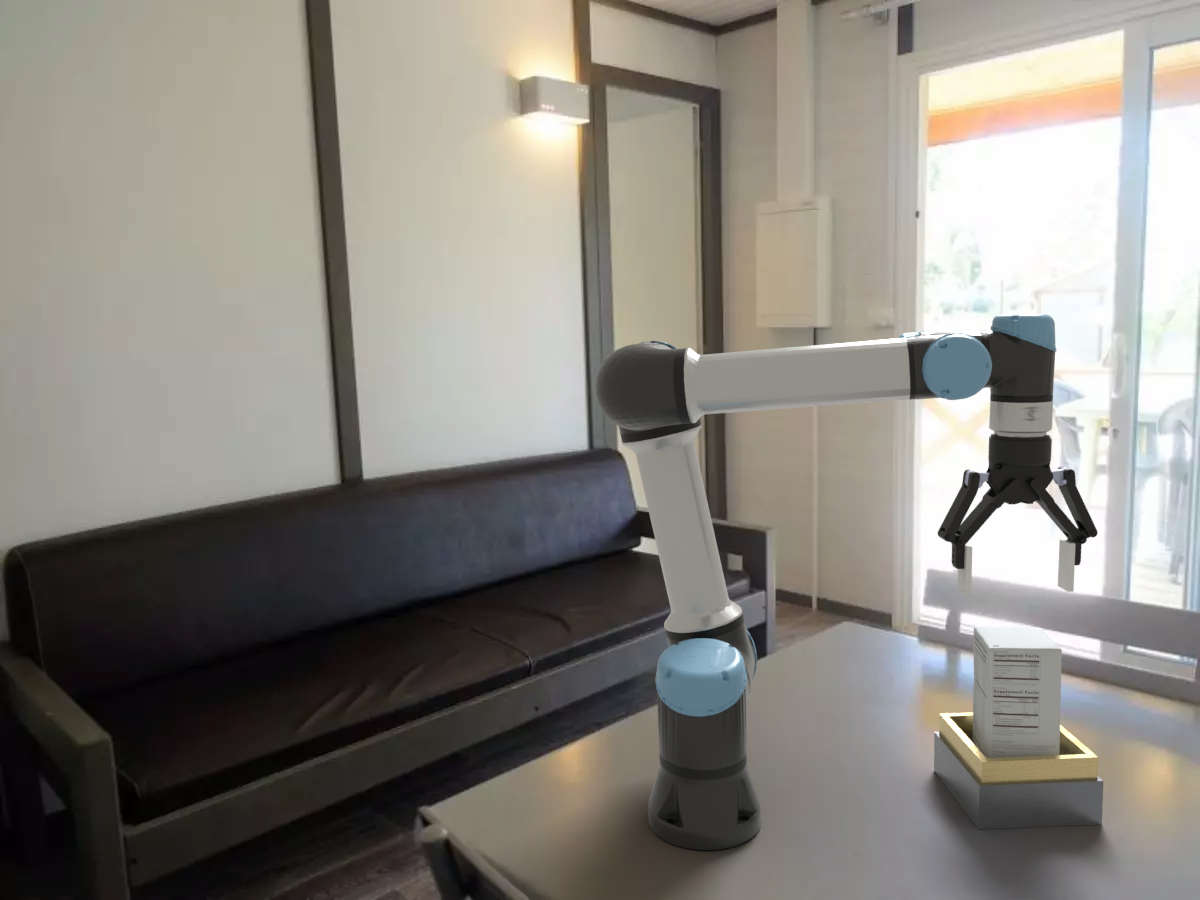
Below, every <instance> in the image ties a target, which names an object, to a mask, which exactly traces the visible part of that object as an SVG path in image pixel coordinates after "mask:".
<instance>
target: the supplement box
mask: <svg viewBox="0 0 1200 900" xmlns="http://www.w3.org/2000/svg"><path fill="white" fill-rule="evenodd" d="M1062 654H1063V650H1062V648H1061V647H1060V646H1059V645H1058V644H1057V643H1056V642H1055V641H1054V640H1053V639H1052V638H1051V637H1050V636H1049V635H1048V633H1046V631H1045V629H1044V630H1043V628H1042V627H1038V626H1037V627H1036V626H1035V627H1034V626H974V627H973V686H972V687H973V689H972V691H973V692H972V695H973V696H972V712H973V741H974V743H975V745H976V747H977V748H978V749H979V750H980V751H981V752H982V753H983V755H984V756H985V757H986V758H1001V757H1025V756H1050V755H1059V750H1060V725H1061V703H1062V702H1061V700H1062V699H1061V698H1062V697H1061V693H1062V661H1063V660H1062V658H1063V657H1062V656H1063V655H1062Z"/></svg>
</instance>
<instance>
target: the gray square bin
mask: <svg viewBox="0 0 1200 900" xmlns="http://www.w3.org/2000/svg"><path fill="white" fill-rule="evenodd" d="M938 715H939V717H938V720H939V723H938V726H939V727H938V729H939V730H938V731H934V733H933V734H934V737H933V739H934V740H933V741H934V746H933V747H934V749H933V752H934V754H933V756H934V757H933V771H934V773H935V774H936V775H937V777H938V778H939V779H940V781H941V782H942V783H943V784H944V786H945V787H946V789H947V790H948V791H949V793H950V794H951V796H953V797H954V799H955V800H956V802H957V803H958V804H959V806H960V807H961V808H962V809H963V811H964V812H965V814H966V815H967V816H968V818H969V819H970V820H971V822H972V823H973V824H974V825H975V827H976V828H977V829H978V830H996V829H997V830H999V829H1001V830H1003V829H1021V828H1022V829H1024V828H1025V829H1026V828H1027V829H1028V828H1048V827H1052V828H1053V827H1069V826H1071V827H1072V826H1073V827H1075V826H1093V825H1095V826H1096V825H1097V826H1098V825H1103V804H1104V803H1103V801H1104V780H1103V779H1102V778H1101V777H1100V776H1098V775H1099V774H1098V773H1099V769H1098V768H1099V757H1098V755H1096V754H1095V753H1094V752H1093V751H1091V750H1090V749H1089V747H1087V746H1086V745H1085V744H1084V743H1082V742H1081V741H1080V740H1079V739H1078V738H1077V737H1075V736H1074V735H1073V734H1072V733H1071V732H1070V731H1069V730H1067V729H1066V728H1065V727H1064V726H1062V724H1060V750H1059V755H1050V756H1025V757H1001V758H986V757H985V756H984V755H983V753H982V752H981V751H980V750H979V749H978V748H977V747H976V745H975V743H974V741H973V711H972V712H971V711H970V712H968V711H967V712H945V713H939V714H938Z"/></svg>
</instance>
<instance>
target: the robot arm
mask: <svg viewBox="0 0 1200 900" xmlns="http://www.w3.org/2000/svg"><path fill="white" fill-rule="evenodd" d="M991 323H992V324H991V326H990V329H985V330H977V331H976V330H975V331H974V330H972V331H969V330H968V331H966V330H963V331H960V330H958V331H957V330H956V331H953V330H948V331H947V330H945V331H944V330H943V331H942V330H941V331H925V330H921V331H917V332H904V333H901V334H900V335H899V336H898V337H897V338H888V339H887V338H885V339H874V340H873V339H872V340H864V341H863V340H862V341H851V342H840V343H839V342H838V343H828V344H827V343H826V344H815V345H803V346H791V347H779V348H767V349H756V350H755V349H754V350H743V351H732V352H720V353H709V354H698V353H697V352H696V351H695V350H694V349H692V348H691V347H684V348H678V347H675V346H674V345H672V344H670V343H668V342H664V341H659V340H650V341H641V342H639V343H635V344H634V343H632V344H629V345H625V346H623V347H620V348H618V349H616V350H614V351H613V352H611V354H609V355H608V356H607V357H606V358H605V359H604V361H603V362H602V363H601V365H600V367H599V369H598V372H597V374H596V378H595V382H594V383H595V385H594V389H595V396H596V401H597V404H598V406H599V409H600V410H601V412H602V413H603V414H604V416H605V417H606V418H607V419H608V420H609V421H610V422H612V423H613V424H614V425H616V426H618V430H619V434H620V438H621V442H622V445H623V446H624V447H626V448H628V449H629V450H631V451H632V452H633V453H634V454H635V456H636V461H637V465H638V470H639V475H640V479H641V483H642V484H641V485H642V487H643V492H644V496H645V501H646V505H647V509H648V514H649V519H650V522H651V527H652V531H653V535H654V536H653V537H654V540H655V544H656V550H657V555H658V557H659V562H660V566H661V571H662V576H663V580H664V584H665V589H666V593H667V597H668V602H669V607H670V613H669V615H668V617H667V618H666V619H665V621H664V623H663V626H664V631H665V635H666V640H667V643H668V644H667V645H668V647H666V649H665V650H664V651H663V652H662V653H661V654H660V656H659V658H658V661H657V667H656V673H655V685H656V687H655V688H656V693H657V697H656V698H657V719H658V720H657V721H658V722H657V723H658V726H657V728H658V750H659V751H658V752H659V753H658V754H659V765H658V766H659V767H658V769H657V772H656V775H655V776H656V777H655V779H654V782H653V786H652V788H651V792H650V795H649V798H648V803H647V804H648V805H647V811H648V812H647V814H648V815H647V816H648V819H647V821H648V824H649V827H650V828H651V831H653V833H654V834H655V835H656V836H657V837H659V838H660V839H661V840H663V841H665V842H667V843H669V844H672V845H673V846H677V847H681V848H685V849H689V850H696V851H715V850H716V851H718V850H725V849H730V848H734V847H736V846H739V845H742V844H745V843H746V842H748V841H749V840H750V839H752V838H754V837H755V836H756V835H757V833H758V832H759V831H760V830H761V826H762V806H761V800H760V799H759V796H758V795H759V794H758V793H757V790H756V787H755V785H754V781H753V779H752V776H751V772H750V771H749V768H748V755H747V752H748V751H747V748H748V747H747V742H748V741H747V708H748V702H749V698H750V697H749V696H750V692H751V689H752V688H751V687H752V683H753V680H754V677H755V675H756V674H755V673H756V670H757V663H758V655H757V649H756V645H755V642H754V640H753V637H752V636H751V633H750V632H749V630H748V629H747V626H746V621H745V618H744V613H743V609H742V607H741V606H740V605H739V604H737V603H735V602H734V601H732V600H731V599H730V598H729V593H728V589H727V585H726V584H727V583H726V579H725V576H724V570H723V565H722V562H721V558H720V553H719V548H718V543H717V539H716V534H715V530H714V525H713V521H712V516H711V512H710V508H709V503H708V498H707V493H706V489H705V484H704V481H703V480H704V479H703V476H702V472H701V466H700V462H699V457H698V453H697V448H696V444H695V440H696V437H697V435H698V433H699V432H700V431H701V429H702V427H703V426H702V421H701V417H703V416H704V415H712V414H713V415H715V414H726V413H727V414H728V413H741V412H742V413H743V412H755V411H756V412H757V411H758V412H759V411H770V410H783V409H795V408H796V409H797V408H808V407H809V408H811V407H824V406H839V405H850V404H852V405H853V404H863V403H865V404H866V403H878V402H879V403H880V402H881V403H882V402H893V401H894V402H895V401H906V400H907V401H908V400H928V399H929V400H930V399H931V400H932V399H945V400H948V401H957V400H965V399H968V398H971V397H973V396H975V395H976V394H978V393H979V392H980V391H982V390H983V389H985V388H989V390H990V396H989V397H990V401H989V423H988V428H989V429H990V430H991V431H992V432H993V433H991V434H990V435H989V437H988V467H987V470H986V471H983V472H982V471H975V470H972V469H969V468H967V469H965V470H964V472H963V476H962V483H961V487H960V489H959V490H958V493H957V494H956V496H955V498H954V500H953V502H952V503H951V506H950V508H949V509H948V512H947V514H946V515H945V517H944V518H943V519H944V520H943V522H942V523H941V525H940V527H939V529H938V531H937V536H938V537H939V538H940V539H942V540H944V541H945V542H949V543H951V565H952V567H953V568H955V569H956V570H957V590H958V591H960V592H961V593H962V594H964V595H966V596H967V595H972V577H973V576H972V574H973V573H972V572H973V570H972V569H973V546H972V545H971V544H969V541H970V540H971V539H972V538H973V536H975V535H976V533H977V532H978V531H979V530H980V529H981V527H982V526H983V525H985V523H987V521H988V520H989V519H990V517H991V516H992V515H993V514H994V512H996V511H997V509H1000V508H1001V507H1002V506H1003V505H1004V504H1006V505H1017V504H1026V505H1031V504H1032V505H1033V504H1034V503H1037V504H1038V505H1039V506H1040V508H1041V509H1042V510H1043V511H1044V512H1045V513H1046V515H1047V516H1048V517H1049V518H1050V519H1051V521H1052V522H1053V523H1054V524H1055V525H1056V526H1057V528H1058V529H1059V530H1060V531H1061V532H1062V534H1064V536H1065V537H1066V538H1067V539H1066V538H1059V546H1058V548H1059V549H1058V571H1057V587H1059V588H1061V589H1062V590H1064V591H1066V592H1067V593H1068V592H1074V591H1075V590H1074V589H1075V588H1074V585H1075V566H1080V565H1081V561H1082V545H1083V544H1086V543H1087V540H1088V539H1089V538H1095V537H1097V535H1098V530H1097V528H1096V526H1095V524H1094V521H1093V519H1092V517H1091V515H1090V513H1089V510H1088V508H1087V506H1086V504H1085V502H1084V499H1083V498H1082V496H1081V494H1080V491H1079V489H1078V487H1077V482H1076V481H1077V480H1076V472H1075V470H1074V469H1072V468H1069V467H1065V466H1059V467H1057V469H1051V462H1052V444H1053V443H1052V441H1053V438H1052V437H1051V435H1050V434H1048V433H1049V432H1050V431H1051V430H1052V429H1053V414H1054V413H1053V412H1054V411H1053V410H1054V385H1055V382H1054V381H1055V365H1056V364H1055V363H1056V362H1055V360H1056V352H1057V348H1056V327H1055V326H1056V324H1055V323H1056V322H1055V320H1054V318H1053V317H1052V316H1051V315H1049V314H1047V313H1027V314H1024V313H1023V314H998V315H995V316H994V317H993V318H992V322H991ZM1052 481H1053V482H1054V483H1055V484H1056V485H1057V486H1058V489H1059V491H1060V493H1061V494H1062V497H1063V499H1064V501H1065V503H1066V505H1067V507H1068V510H1069V512H1070V514H1071V516H1072V518H1073V520H1074V522H1075V524H1076V525H1075V524H1074V523H1073V521H1072V520H1071V519H1070V518H1069V517H1068V516H1067V514H1066V513H1065V512H1064V510H1062V509H1061V507H1060V506H1059V505H1058V504H1057V502H1056V501H1055V499H1054V497H1053V496H1052V495H1051V494H1050V493H1049V492H1048V491H1047V488H1048V487H1049V486H1050V484H1051V483H1052ZM985 482H986V484H987V485H988V487H989V489H988V490H987V491H986V492H985V494H983V496H982V499H981V501H979V502H978V504H977V505H976V506H975V507H974V508H973V509H972V511H971V512H970V513H969V514H968V516H966V515H967V513H968V511H969V510H970V507H971V505H972V504H973V502H974V499H975V497H976V496H977V494H978V490H979V489H981V487H983V485H984V483H985ZM965 517H966V518H965Z"/></svg>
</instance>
